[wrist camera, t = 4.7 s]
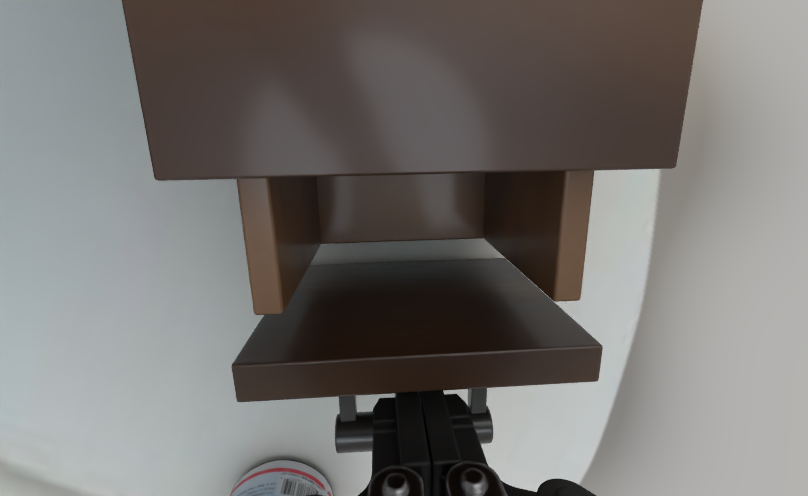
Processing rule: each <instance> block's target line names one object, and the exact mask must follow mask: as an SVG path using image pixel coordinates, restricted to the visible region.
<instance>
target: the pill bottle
mask: <svg viewBox="0 0 808 496" xmlns="http://www.w3.org/2000/svg"><path fill="white" fill-rule="evenodd" d="M314 494H317V495H323V496H333V493H332V490H331V488H330V485H329V484H328V482H327V481H326V479H325V478H324V477H323V476H322V475H321V474H320V473H319V472H318V471H316V470H315V469H313V468H311V467H310V466H307V465H305V464H302V463H299V462H295V461H288V460H279V461H273V462H269V463H265V464H263V465H260V466H258V467H256V468H254V469H253V470H251V471H250V472H248V473H247V474H246V475H244V476H243V477H242V478H241V479H240V480H239V481H238V482H237V484H236V485H235V487H234V488H233V490H232V492H231V494H230V496H306V495H314Z"/></svg>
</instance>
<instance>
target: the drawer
mask: <svg viewBox="0 0 808 496" xmlns="http://www.w3.org/2000/svg"><path fill="white" fill-rule="evenodd" d="M593 177H594V170H587V171H545V172H503V173H461V174H419V175H377V176H335V177H292V178H250V179H237V186H238V193H239V201H240V209H241V216H242V224H243V232H244V240H245V247H246V255H247V263H248V270H249V278H250V286H251V294H252V301H253V309H254V313H255V314H256V315H264V316H263V318H262V319H261V321H260V322H259V324H258V325H257V327H256V329H255V330H254V332H253V333H252V335H251V336H250V338H249V339H248V341H247V342H246V344H245V346H244V347H243V349H242V350H241V352H240V353H239V355H238V356H237V358H236V359H235V361H234V362H233V364H232V372H233V379H234V385H235V392H236V398H237V402H250V401H268V400H285V399H302V398H319V397H336V396H339V407H340V413H339V414H337V417H336V424H335V446H336V451H337V453H349V452H364V451H373V411H372V412H357V404H356V395H371V394H388V393H405V392H422V391H440V390H457V389H468V406H467V407H468V410H469V413H470V416H471V418H472V421H473V424H474V428H475V430H476V433H477V436H478V439H479V441H480V444H483V443H491V442H492V439H493V424H492V418H491V414H490V411H489V409H488V407H487V406H486V398H487V388H491V387H508V386H525V385H543V384H560V383H577V382H594V381H598V379H599V371H600V363H601V356H602V345H601V344H600V343H599V342H598V341H597V340H595V339H594V338H593V337H592V336H591V335H590V334H589V333H588V332H587V331H585V330H584V329H583V328H582V327H581V326H580V325H579V324H578V323H577V322H575V321H574V320H573V319H572V318H571V317H570V316H569V315H568V314H567V313H565V312H564V311H563V310H562V309H561V308H560V307H559V306H558V305H557V304H555V303H554V302H553V301H577V300H580V297H581V288H582V278H583V269H584V260H585V251H586V242H587V232H588V223H589V214H590V205H591V196H592V187H593ZM475 238H484V239H485V240H486V241H487V242H488V243H489V244H491V245H492V246H493V247H494V248H495V249H496V250H497V251H498V252H500V253H501V254H502V255H503V256H504V257H505V258H506V259H505V258H494V259H467V260H441V261H414V262H387V263H361V264H334V265H310V263H311V261H312V259H313V257H314V256H315V254H316V252H317V250H318V248H319V246H320V245H321V244H329V243H358V242H387V241H417V240H446V239H475ZM509 261H510V262H511V263H512V264H513V265H514V266H515V267H514V266H513V265H512V264H511V263H510V262H509ZM518 269H519V270H520V271H521V272H522V273H523V274H524V275H525V276H524V275H523V274H522V273H521V272H520V271H519V270H518ZM528 278H529V279H530V280H531V281H532V282H533V283H534V284H535V285H534V284H533V283H532V282H531V281H530V280H529V279H528ZM538 287H539V288H540V289H541V290H542V291H543V292H544V293H545V294H546V295H545V294H544V293H543V292H542V291H541V290H540V289H539V288H538ZM547 295H548V296H549V297H550V298H551V299H552V300H553V301H552V300H551V299H550V298H549V297H548V296H547Z"/></svg>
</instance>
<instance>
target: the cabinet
mask: <svg viewBox="0 0 808 496" xmlns="http://www.w3.org/2000/svg"><path fill="white" fill-rule="evenodd" d="M702 3H703V0H122V4H123V9H124V15H125V20H126V26H127V31H128V37H129V42H130V47H131V53H132V58H133V64H134V69H135V74H136V80H137V85H138V91H139V96H140V102H141V107H142V112H143V118H144V123H145V129H146V134H147V140H148V145H149V150H150V156H151V161H152V167H153V172H154V178H155V179H156V180H158V181H166V180H208V179H250V178H292V177H335V176H377V175H419V174H461V173H503V172H545V171H587V170H629V169H666V168H667V169H669V168H670V169H671V168H675V167H676V163H677V157H678V151H679V144H680V138H681V132H682V126H683V120H684V113H685V108H686V101H687V95H688V89H689V83H690V76H691V71H692V65H693V57H694V52H695V45H696V40H697V33H698V28H699V22H700V15H701V9H702Z"/></svg>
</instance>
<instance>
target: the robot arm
mask: <svg viewBox="0 0 808 496" xmlns="http://www.w3.org/2000/svg"><path fill="white" fill-rule="evenodd" d="M306 496H323V495H317V494H314V495H306ZM358 496H596V495H594V494H592V493H591V492H589V491H588V490H586V489H585V488H583V487H581V486H580V485H578V484H576V483H574V482H571V481H568V480H564V479H550V480H547V481H545V482H543V483H542V484H541V485H540V486H539V488H538V491H537V492H533V491H528V490H524V489H519V488H515V487H512V486H510V485H508V484H506V483H504V482H502V481H501V480H500V478H499V476H498V475H497V474H496V472H495V471H494V470H493V469H492V468H490V467H489V466H488V464H487V462H486V459H485V456H484V453H483V450H482V447H481V444H480V441H479V439H478V436H477V433H476V430H475V428H474V424H473V421H472V418H471V416H470V413H469V410H468V407H467V404H466V403H465V402H464V401H463V400H462V399H461V398H460V397H459V396H458V395H457V394H447V395H444V393H443V390H440V391H422V392H405V393H395V397H394V398H380V399H379V400H378V402H377V403H376V405H375V407H374V408H373V451H372V477H371V480H370V482H369V484H368V486H367V487H366V489H365V490H364V491H363V492H362V493H360V494H359V495H358Z"/></svg>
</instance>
